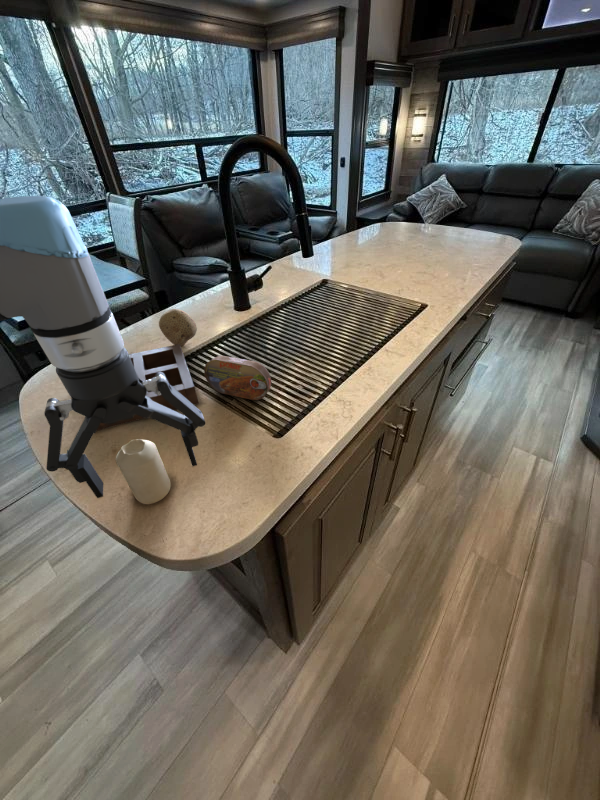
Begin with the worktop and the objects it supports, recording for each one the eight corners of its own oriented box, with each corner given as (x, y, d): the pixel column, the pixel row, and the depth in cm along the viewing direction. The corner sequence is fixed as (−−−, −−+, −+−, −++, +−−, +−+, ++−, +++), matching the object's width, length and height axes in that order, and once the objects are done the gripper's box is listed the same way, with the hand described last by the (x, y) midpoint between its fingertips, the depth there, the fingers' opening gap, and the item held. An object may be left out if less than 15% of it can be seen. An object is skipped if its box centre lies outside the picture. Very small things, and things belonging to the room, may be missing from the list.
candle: (164, 504, 51) (144, 461, 45) (129, 504, 51) (104, 461, 45) (175, 476, 55) (158, 432, 49) (143, 475, 55) (122, 432, 49)
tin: (207, 390, 74) (199, 357, 69) (214, 382, 76) (207, 350, 71) (268, 404, 70) (265, 370, 65) (274, 395, 72) (271, 362, 67)
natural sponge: (192, 333, 96) (185, 300, 89) (205, 346, 90) (197, 311, 84) (161, 343, 91) (151, 308, 85) (172, 356, 86) (161, 320, 79)
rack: (95, 431, 64) (86, 413, 61) (98, 378, 78) (90, 362, 75) (198, 403, 70) (194, 386, 67) (183, 359, 84) (179, 343, 82)
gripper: (-57, 405, 31) (53, 526, 44) (206, 345, 39) (233, 464, 52) (-33, 366, 37) (59, 485, 50) (195, 320, 44) (222, 434, 58)
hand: (148, 474), depth 51 cm, fingers open, 13 cm apart
